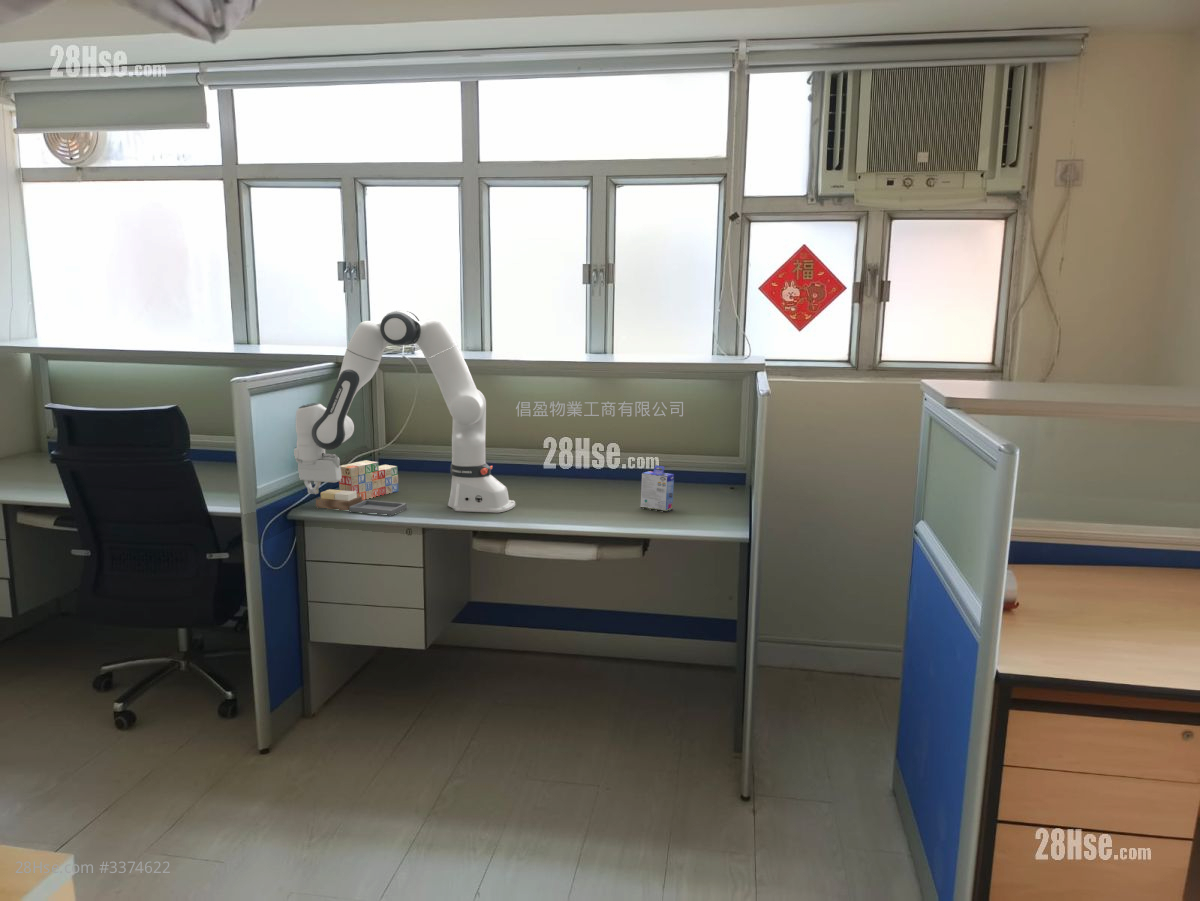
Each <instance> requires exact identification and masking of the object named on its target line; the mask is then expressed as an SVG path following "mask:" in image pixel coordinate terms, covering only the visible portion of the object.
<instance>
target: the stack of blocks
mask: <svg viewBox="0 0 1200 901" xmlns="http://www.w3.org/2000/svg"><path fill="white" fill-rule="evenodd" d="M340 468H341V474H342V478H341V480H340V481H338V486H339V487H338V488H339V489H338V490H344V491H355V492H357V496H359V497H362V500H363V501H364V500H365V499H367V500H370V499H369V498H371V499H373V497H374V498H377V497H376V496H378V497H381V496H380V495H382V496H385V495H388V494H389V493H390V494H393V492H394V493H398V492H399V474H398V473H399V472H398V465H391V464H390V465H389V464H381V465H379V462H378V461H371V460H365V459H364V460H359V461H356V462H352V463H348V464H346V463H345V464H342V465H341V464H340ZM384 494H385V495H384Z"/></svg>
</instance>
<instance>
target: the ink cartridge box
mask: <svg viewBox="0 0 1200 901" xmlns="http://www.w3.org/2000/svg"><path fill="white" fill-rule="evenodd" d="M665 468H666V467H665V466H663V465H657V464H656V465H655V466H654V469H653V471H651V470H650V471H649V470H648V471H644V472H642V473H641V488H640V507H648V508H655V509H661V510H667V509H669V508H672V507H673V506H674V484H675V474H674V473H668V472H667V473H666V472H665ZM673 508H674V507H673Z"/></svg>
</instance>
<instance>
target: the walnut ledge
mask: <svg viewBox="0 0 1200 901" xmlns="http://www.w3.org/2000/svg"><path fill="white" fill-rule="evenodd" d="M360 502H362V497H359V496H357V498H354V499H352V500H349V501H343V500H332V499H321V496H320V497H318V498H316V499H315V508H316V507H318V508H317V509H319V508H327V509H326V510H330V509H339V510H338V511H341V510H349V507H350V506H352V505H355V504H357V503H360Z"/></svg>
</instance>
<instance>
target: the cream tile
mask: <svg viewBox="0 0 1200 901" xmlns="http://www.w3.org/2000/svg"><path fill="white" fill-rule="evenodd" d="M354 498H357V492H355V491H344V490H343V491H340V492H338V493H335V500H343V501H349V500H352V499H354Z"/></svg>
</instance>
